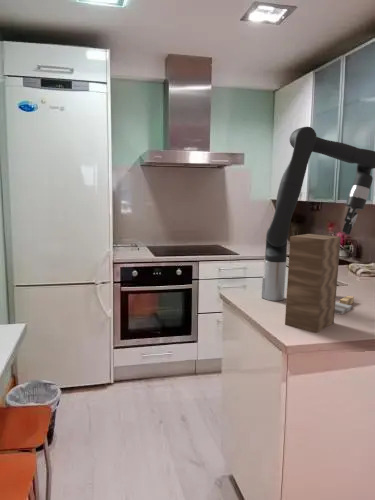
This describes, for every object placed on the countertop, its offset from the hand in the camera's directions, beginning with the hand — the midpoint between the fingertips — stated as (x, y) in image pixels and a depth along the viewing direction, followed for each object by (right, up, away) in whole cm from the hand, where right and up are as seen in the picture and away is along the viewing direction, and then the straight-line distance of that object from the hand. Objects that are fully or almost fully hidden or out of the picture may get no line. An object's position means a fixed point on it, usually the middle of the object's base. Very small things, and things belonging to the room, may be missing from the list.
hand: (345, 233), depth 173 cm
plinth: (-25, -34, -29) cm, 51 cm away
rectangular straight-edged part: (-3, -31, -5) cm, 32 cm away
